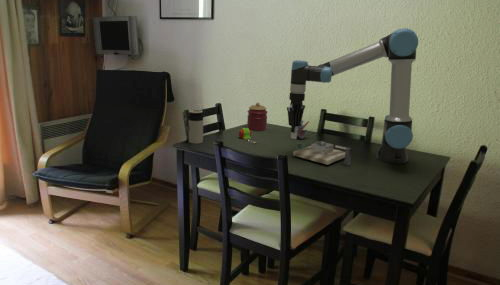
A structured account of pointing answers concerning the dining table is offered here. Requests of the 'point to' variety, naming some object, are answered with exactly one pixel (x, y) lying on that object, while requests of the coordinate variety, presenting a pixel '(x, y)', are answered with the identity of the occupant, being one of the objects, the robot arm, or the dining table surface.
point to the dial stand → (346, 155)
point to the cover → (322, 148)
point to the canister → (257, 118)
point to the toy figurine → (301, 130)
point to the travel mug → (195, 126)
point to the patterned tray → (325, 159)
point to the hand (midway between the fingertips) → (293, 138)
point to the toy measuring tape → (245, 134)
